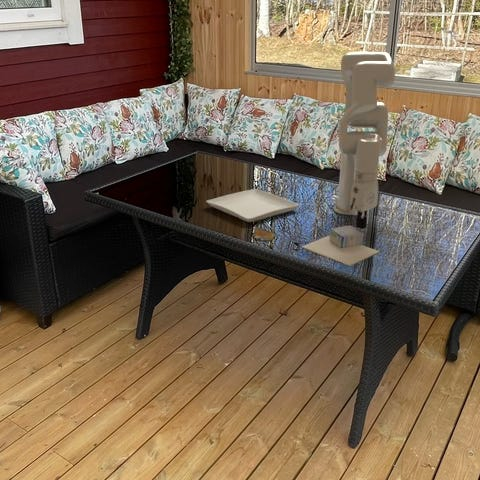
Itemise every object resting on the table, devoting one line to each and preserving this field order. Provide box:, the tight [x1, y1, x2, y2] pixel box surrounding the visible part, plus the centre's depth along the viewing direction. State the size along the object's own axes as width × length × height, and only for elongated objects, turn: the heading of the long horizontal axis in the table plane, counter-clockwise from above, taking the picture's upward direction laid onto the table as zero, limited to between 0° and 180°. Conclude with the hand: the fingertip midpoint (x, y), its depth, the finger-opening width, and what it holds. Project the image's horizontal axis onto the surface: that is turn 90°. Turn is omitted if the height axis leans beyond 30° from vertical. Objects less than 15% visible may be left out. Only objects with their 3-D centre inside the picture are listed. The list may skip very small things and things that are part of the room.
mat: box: [301, 234, 380, 267], centre depth 184 cm, size 20×16×1 cm
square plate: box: [205, 188, 300, 223], centre depth 220 cm, size 27×27×4 cm
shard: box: [253, 225, 277, 241], centre depth 196 cm, size 11×8×2 cm
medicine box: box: [329, 224, 364, 248], centre depth 188 cm, size 8×4×9 cm
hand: (360, 227), depth 188 cm, fingers closed
